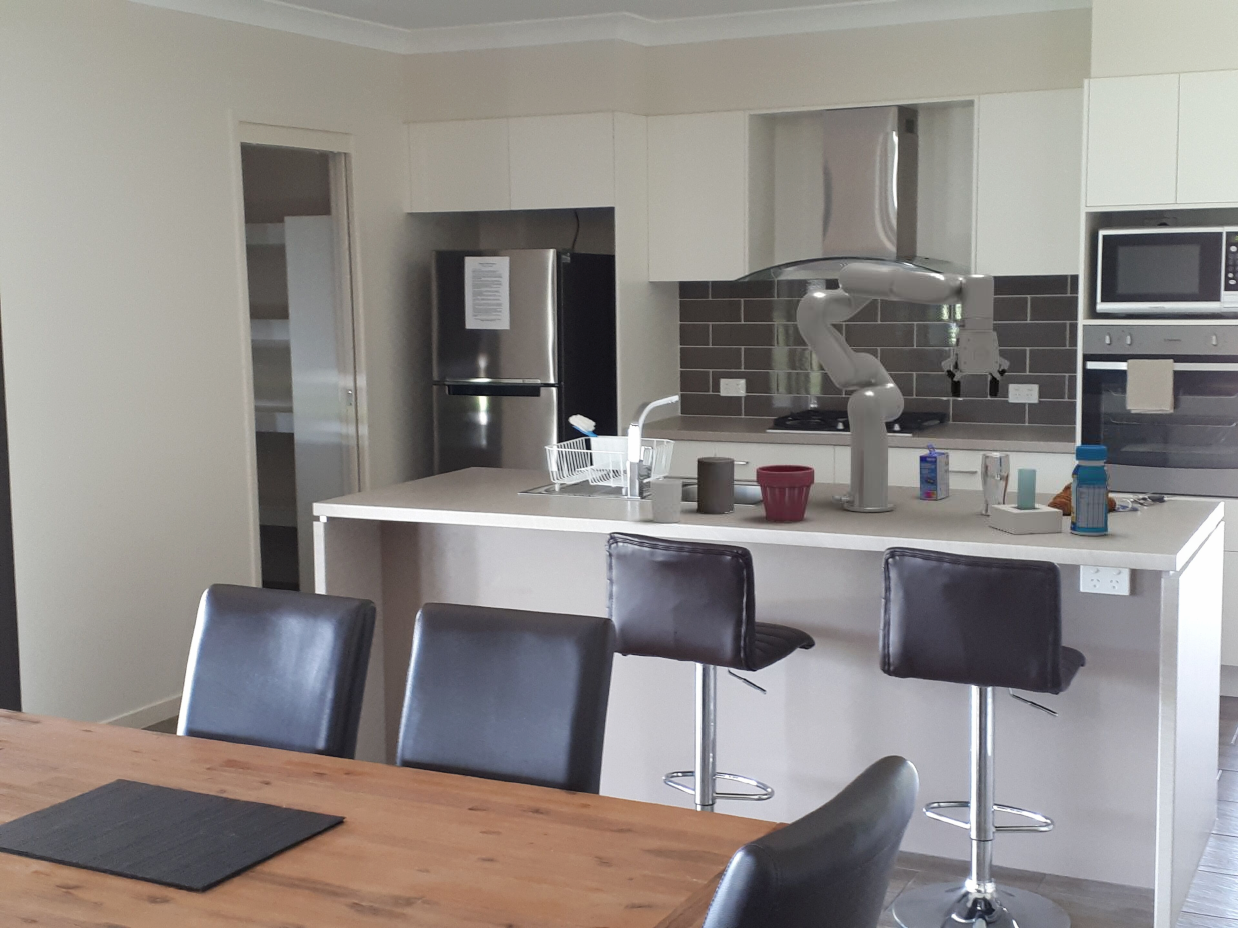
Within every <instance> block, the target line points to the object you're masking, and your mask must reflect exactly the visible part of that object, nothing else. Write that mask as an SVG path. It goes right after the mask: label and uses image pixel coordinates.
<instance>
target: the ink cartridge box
mask: <svg viewBox="0 0 1238 928" xmlns="http://www.w3.org/2000/svg"><path fill="white" fill-rule="evenodd" d="M926 447H927V450H928V452H927V453H924V454H921V455H919V497H920V500H925V501H926V500H929V501H939V500H941V499H944V498H947V497H949V496H950V453H949V452H944V451H936V450H935V447H934V445H932V444H927V445H926Z"/></svg>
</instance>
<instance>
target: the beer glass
mask: <svg viewBox="0 0 1238 928" xmlns="http://www.w3.org/2000/svg"><path fill="white" fill-rule="evenodd" d="M1010 463H1011V462H1010V454H1007V453H998V452H997V453H994V452H991V453H988V452H987V453H982V454H981V463H980V464H981V465H980V466H981V468H980V477H981V478H980V479H981V486H982V487H981V488H982V493H983V506H982V511H981V514H982V515H984V516H989V515H990V505H1007V503H1006V502H1007V501H1006V500H1007V499H1006V498H1007V492H1008V488H1009V483H1010V477H1011V475H1010V474H1011V464H1010Z"/></svg>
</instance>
